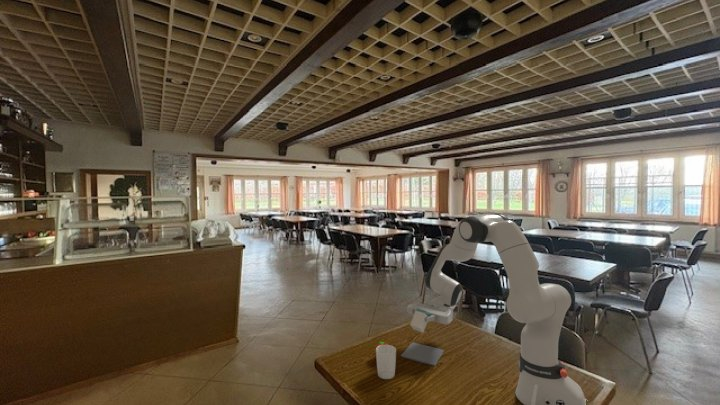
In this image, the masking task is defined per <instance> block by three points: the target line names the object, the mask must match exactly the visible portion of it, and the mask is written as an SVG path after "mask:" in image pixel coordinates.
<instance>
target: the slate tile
mask: <svg viewBox="0 0 720 405" xmlns="http://www.w3.org/2000/svg"><path fill="white" fill-rule="evenodd" d="M444 351H445V349H442V348H438V347H433V346H430V345H425V344H422V343H416V342H412V341H411V343H410V344H409V346H407V347H406V349H405V350H404V351H403V352H402V354H400V358H403V359H406V360H407V359H408V360H411V361H414V362H417V363H422V364H426V365H429V366H433V367H436V365H437V364H438V362H439V360H440V359H441V357H442V355H443V353H444Z"/></svg>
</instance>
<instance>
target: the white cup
mask: <svg viewBox="0 0 720 405" xmlns="http://www.w3.org/2000/svg"><path fill="white" fill-rule="evenodd" d="M377 346H378V345H377ZM375 354H376V355H375V356H376V369H377V376H378V377H379V378H380V379H382V380H391V379H393V378H394V377H396V376H395V375H396V364H397V363H396V361H397V348H396V347H395V346H393V345H391V344H389V345H380V346H378V347H376V348H375Z"/></svg>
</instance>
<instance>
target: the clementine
mask: <svg viewBox="0 0 720 405" xmlns="http://www.w3.org/2000/svg"><path fill="white" fill-rule="evenodd" d="M380 345H390V344H389V343H388V342H384V341H379V342H378V343H377V347H378V346H380ZM377 347H376V348H377Z"/></svg>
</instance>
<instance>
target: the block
mask: <svg viewBox="0 0 720 405" xmlns="http://www.w3.org/2000/svg"><path fill="white" fill-rule="evenodd" d="M425 317H430V315H429V314H428V313H427V311H425V310H422V309H418V308H417V309H416V312H415V314H414V317H413V316H412V319H411V321H410V324H409V326H410V327H411V328H412V329H413V330H414V331H417V332H420V333H422V334H423V333H424V332H425V329H426V327H427V324H428V322H425Z"/></svg>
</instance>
